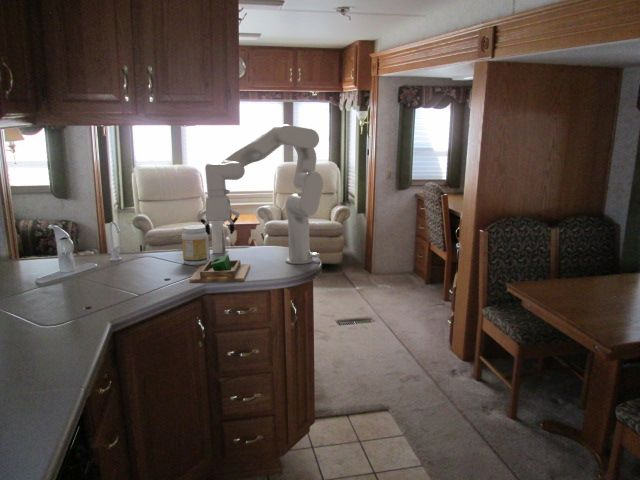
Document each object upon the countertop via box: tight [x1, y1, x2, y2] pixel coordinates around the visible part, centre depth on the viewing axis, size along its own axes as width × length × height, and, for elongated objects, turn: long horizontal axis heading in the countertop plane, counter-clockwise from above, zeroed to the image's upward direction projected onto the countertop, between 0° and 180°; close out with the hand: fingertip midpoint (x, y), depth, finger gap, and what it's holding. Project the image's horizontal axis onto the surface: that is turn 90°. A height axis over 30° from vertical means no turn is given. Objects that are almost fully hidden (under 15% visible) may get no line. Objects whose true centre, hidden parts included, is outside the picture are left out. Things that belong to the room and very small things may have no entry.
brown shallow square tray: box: [189, 259, 251, 283], centre depth 210 cm, size 22×22×4 cm
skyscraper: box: [210, 220, 229, 255], centre depth 246 cm, size 8×8×28 cm
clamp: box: [211, 254, 232, 271], centre depth 210 cm, size 12×6×9 cm, turn 175°
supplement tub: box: [181, 224, 211, 266], centre depth 229 cm, size 12×12×17 cm
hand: (220, 233), depth 207 cm, fingers open, 9 cm apart
